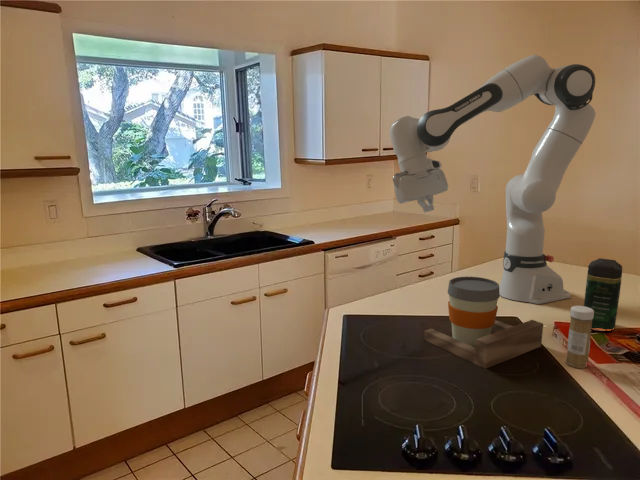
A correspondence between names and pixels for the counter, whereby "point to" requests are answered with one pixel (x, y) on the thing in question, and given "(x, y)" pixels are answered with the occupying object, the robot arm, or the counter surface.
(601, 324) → the coffee jar
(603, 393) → the counter surface
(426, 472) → the counter surface
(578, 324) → the spice jar
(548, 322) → the counter surface
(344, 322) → the counter surface
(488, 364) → the walnut bay
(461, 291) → the reusable coffee cup
